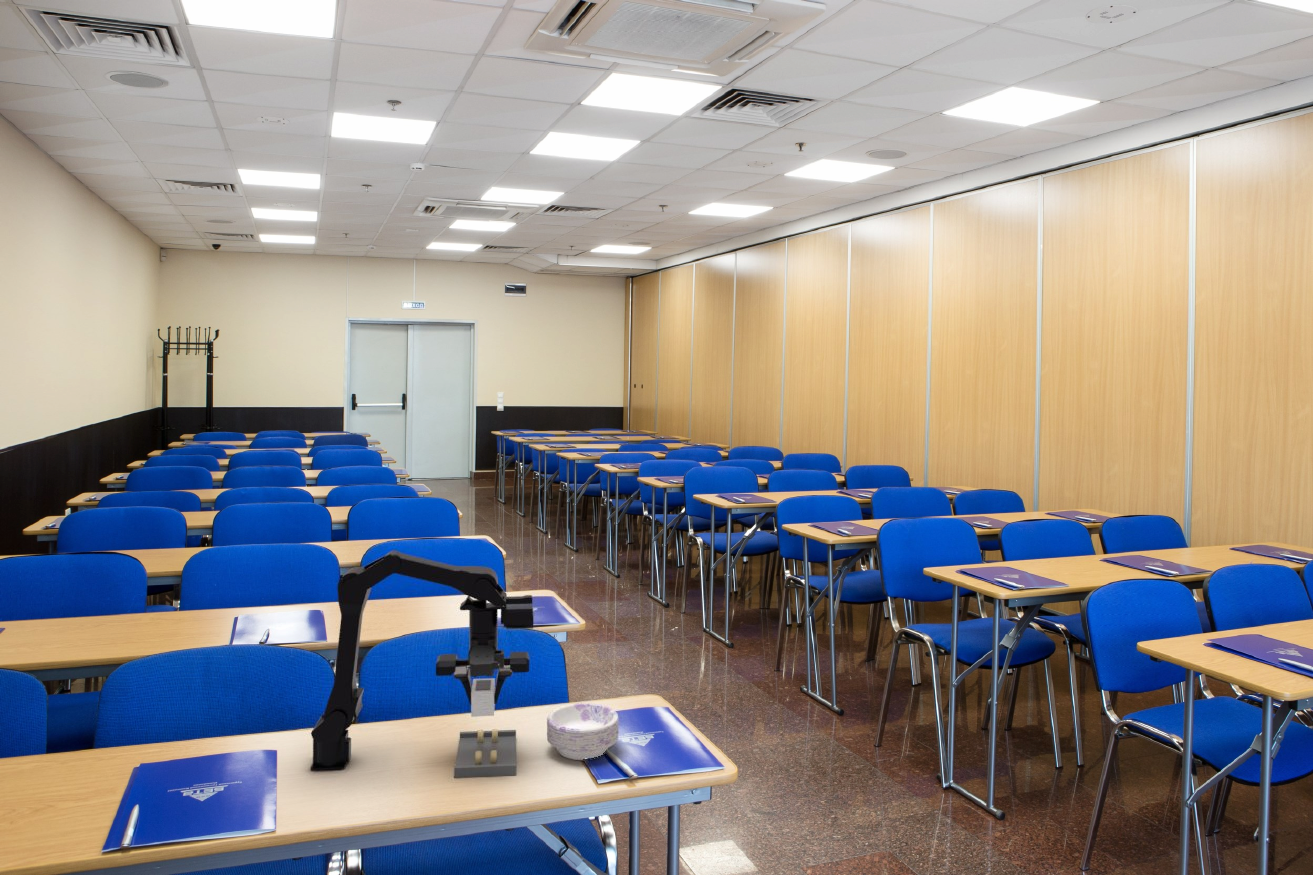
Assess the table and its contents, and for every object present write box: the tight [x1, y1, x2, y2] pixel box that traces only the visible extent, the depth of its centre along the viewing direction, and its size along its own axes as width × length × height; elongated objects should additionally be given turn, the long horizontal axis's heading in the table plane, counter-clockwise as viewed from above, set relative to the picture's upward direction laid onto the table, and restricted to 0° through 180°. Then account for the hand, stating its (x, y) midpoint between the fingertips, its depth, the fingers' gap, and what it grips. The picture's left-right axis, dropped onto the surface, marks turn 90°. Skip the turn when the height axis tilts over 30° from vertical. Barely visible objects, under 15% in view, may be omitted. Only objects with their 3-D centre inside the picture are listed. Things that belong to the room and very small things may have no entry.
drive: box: [470, 677, 496, 718], centre depth 178 cm, size 4×8×5 cm, turn 9°
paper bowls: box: [546, 702, 620, 761], centre depth 183 cm, size 15×15×8 cm
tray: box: [453, 728, 517, 779], centre depth 179 cm, size 12×18×4 cm, turn 9°
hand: (483, 703), depth 178 cm, fingers closed on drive, 4 cm apart
